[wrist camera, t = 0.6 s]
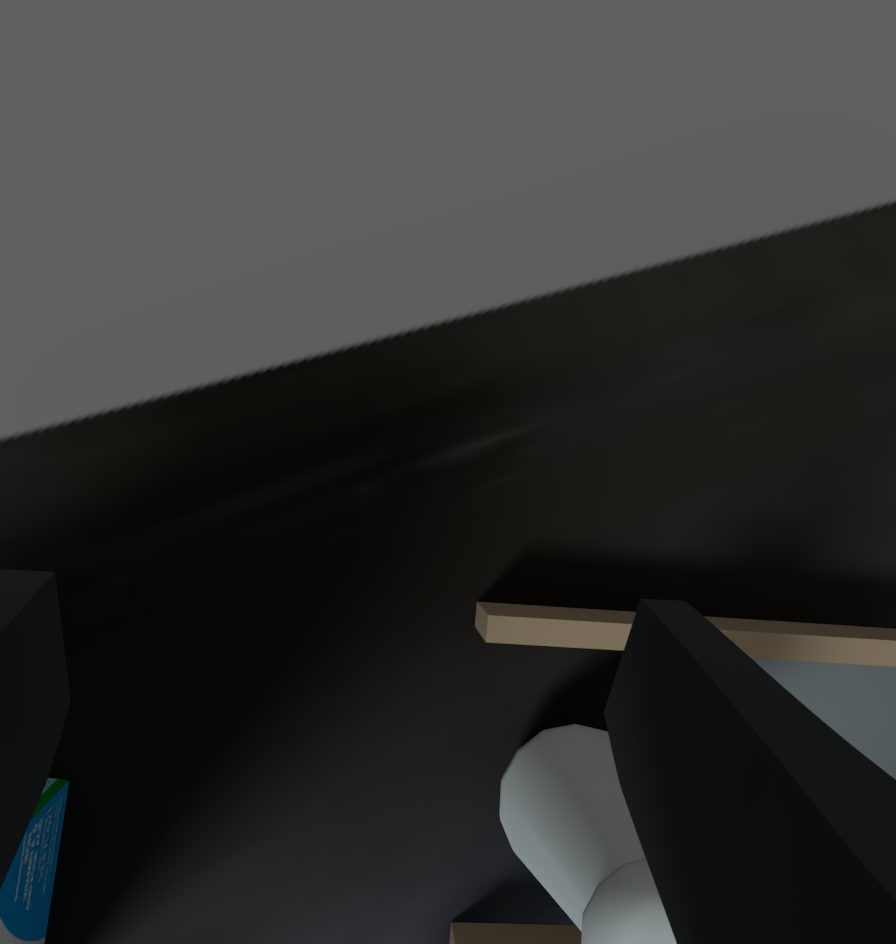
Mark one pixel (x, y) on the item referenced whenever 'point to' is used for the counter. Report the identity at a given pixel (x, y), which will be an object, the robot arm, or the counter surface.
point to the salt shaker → (582, 836)
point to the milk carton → (34, 871)
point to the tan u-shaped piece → (766, 642)
